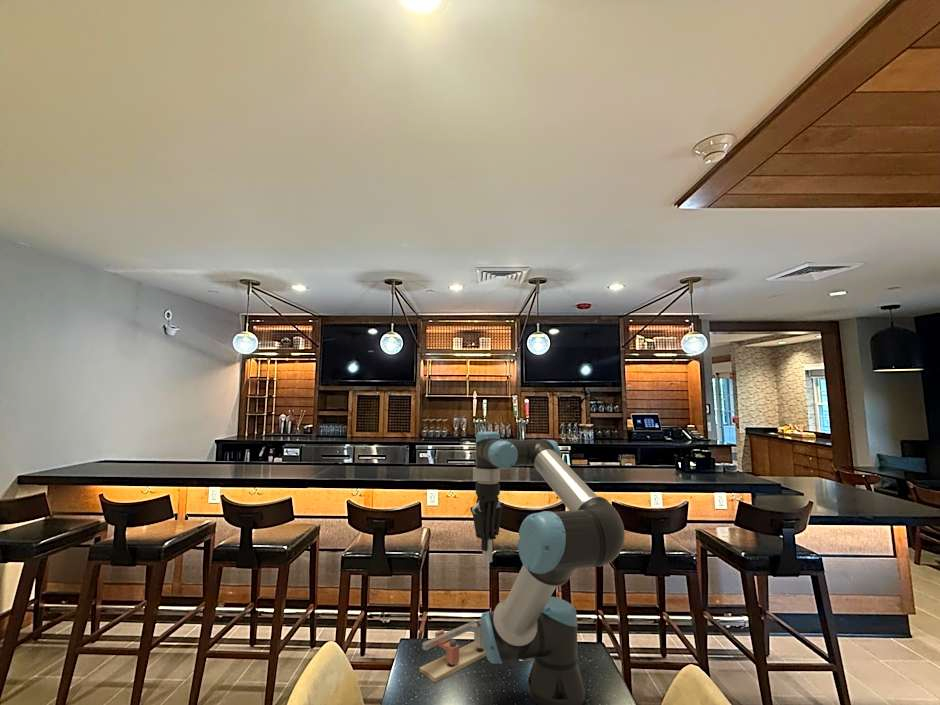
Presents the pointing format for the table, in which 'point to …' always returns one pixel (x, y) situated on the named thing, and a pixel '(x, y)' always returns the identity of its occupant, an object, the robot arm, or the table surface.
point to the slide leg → (450, 649)
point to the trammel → (456, 632)
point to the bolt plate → (443, 668)
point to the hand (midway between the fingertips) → (487, 561)
